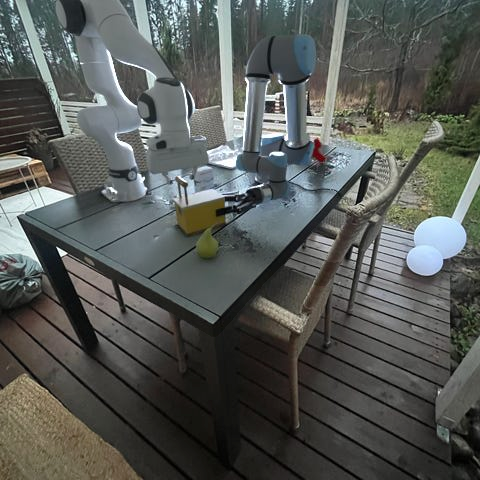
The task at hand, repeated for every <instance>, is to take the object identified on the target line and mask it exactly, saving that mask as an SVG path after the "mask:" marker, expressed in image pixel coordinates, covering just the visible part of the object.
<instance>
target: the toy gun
mask: <svg viewBox="0 0 480 480" xmlns="http://www.w3.org/2000/svg"><path fill="white" fill-rule="evenodd" d="M311 140H312V141H314V143H315V144H314V150H313V154H312V157H311V159H313V158H314V159H315V160H317V161H318V162H319V165H321V164H322V163H320V162H323V161H324V163H325V162H326V159H327V156H326V155H325V154H323V152H321V151H320V149H321V148H322V145H323V143H322V142H321V140H320V139H319V137H318V136H316V137H315V138H313V139H311Z"/></svg>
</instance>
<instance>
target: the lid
mask: <svg viewBox="0 0 480 480" xmlns="http://www.w3.org/2000/svg"><path fill="white" fill-rule="evenodd" d="M174 181H175V182H176V183H177V191H178V196H177V197H173V198H171V200H172V202H173V203H174V205H175V204H176V205H177V206H178V207H179V208H180V209H181V210H186V209H190V208H194V207H197V206H201V205H205V204H209V203H212V202H216V201H220V200H224V199H225V197H224V196H223V195H221V194H220V193H221V192H219V191H217V190H215V188H214V189H210V190H206V191H201V192H197V193H195V192H194V193H190V194H188V191H187V189H188V186H189V183H188V182H187V181H186V180H184V178H182V177H181V176H179V175H177V176H175V177H174ZM181 187H182V188H183V192H184V195H182V190H181V189H182V188H181Z"/></svg>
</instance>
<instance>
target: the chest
mask: <svg viewBox="0 0 480 480" xmlns="http://www.w3.org/2000/svg"><path fill="white" fill-rule="evenodd" d="M224 207H226V202H225V199H224V200H220V201H216V202H212V203H209V204H205V205H201V206H197V207H194V208H190V209H186V210H181V209H180V208H179V207H178V206H177V205H176V204H175V203H174V209H175V215H176V222H177V227H178V228H179V229H180V230H181V231H182V232H183V233H184V235H186V237H187V238H188V237H192V236H195V235H198V234H201V233H204V232H205V231H206V230H207V229H208V228H211V227H212V226H213V225H214V224H216V222H217V221H218V224H217V225H215V226H214V227H213V228H212V229H211V230H213V229H217V228H219V227H224V226H226V225H227V221H226V215H222V216H219V217H216V210H217V209H220V208H224Z"/></svg>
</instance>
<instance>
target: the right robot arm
mask: <svg viewBox="0 0 480 480" xmlns="http://www.w3.org/2000/svg"><path fill="white" fill-rule="evenodd" d="M316 60H317V48H316V42H315V39H314V38H313V37H312V36H311V35H310V34H302V33H297V34H286V35H285V34H283V35H269V36H265V37H264V38H262V39H261V40H260V41H259V42H258V43H257V44H256V46H254V48H253V50H252V52H251V54H250V56H249V58H248V61H247V65H246V69H245V77H244V79H245V81H246V83H247V86H246V99H245V100H246V101H245V113H244V127H243V141H242V150H243V152H242V153H239V154H238V156H237V159H236V167H235V168H236V169H237V170H238V171H242V172H245V173H251V174H255V178H254V181H255V183H258V184H259V185H256V186H252V187H248V188H247V189H246V191H245V192H240V190H238V189H237V190H233V191H226V192H219V193H220V194H221V195H223V196H224V197H225V203H229V202H231V203H232V202H234V203H235V204H232V205H228V206H225V207H224V208H220V209H217V210H216V217H219V216H222V215H225V216H226V215H229V214H236V215H241V214H243V213H246V212H247V211H250V210H252V209H255V208H257V206H259V205H262V204H265V203H268V202H271V201H272V202H273V201H276V200H279V199H282V198H286V197H287V196H288V195H290V193H291V191H292V187H291V185H294V186H297V187H299V188H301V189H302V190H304V191H308V192H317V191H331V192H332V191H333V190H334V191H333V192H335V191H336V192H335V193H336V194H338V195H339V197H341V196H342V194H341V193H340V191H338V190H336V189H335V188H334V189H333V188H327V187H326V188H325V187H321V188H315V189H309V188H305V187H304V186H302V185H300V184H297V183H295V182H292V181H289V180H287V170H288V165H292V166H293V165H295V166H299V167H300V166H303V167H305V166H307V165H309V163H310V161H311V160H312V158H311V157H312V154H313V150H314V144H315V143H314V141H312V140H313V139H311V135H310V134H309V132H308V131H307V129H308V128H307V127H308V125H307V122H308V121H307V119H308V117H307V113H308V112H307V82H308V81H309V79H311V75H312V74H314V71H315V69H316V64H317V63H316ZM272 75H278V82H279V83H280V84H281V85H282V86H283V97H284V108H285V110H284V111H285V121H286V136H285V135H284V134H283V133H270V134H266V135H262V134H263V127H264V118H265V107H266V97H267V90H268V89H267V88H268V84H269V83H270V82H271V76H272ZM330 189H331V190H330Z"/></svg>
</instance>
